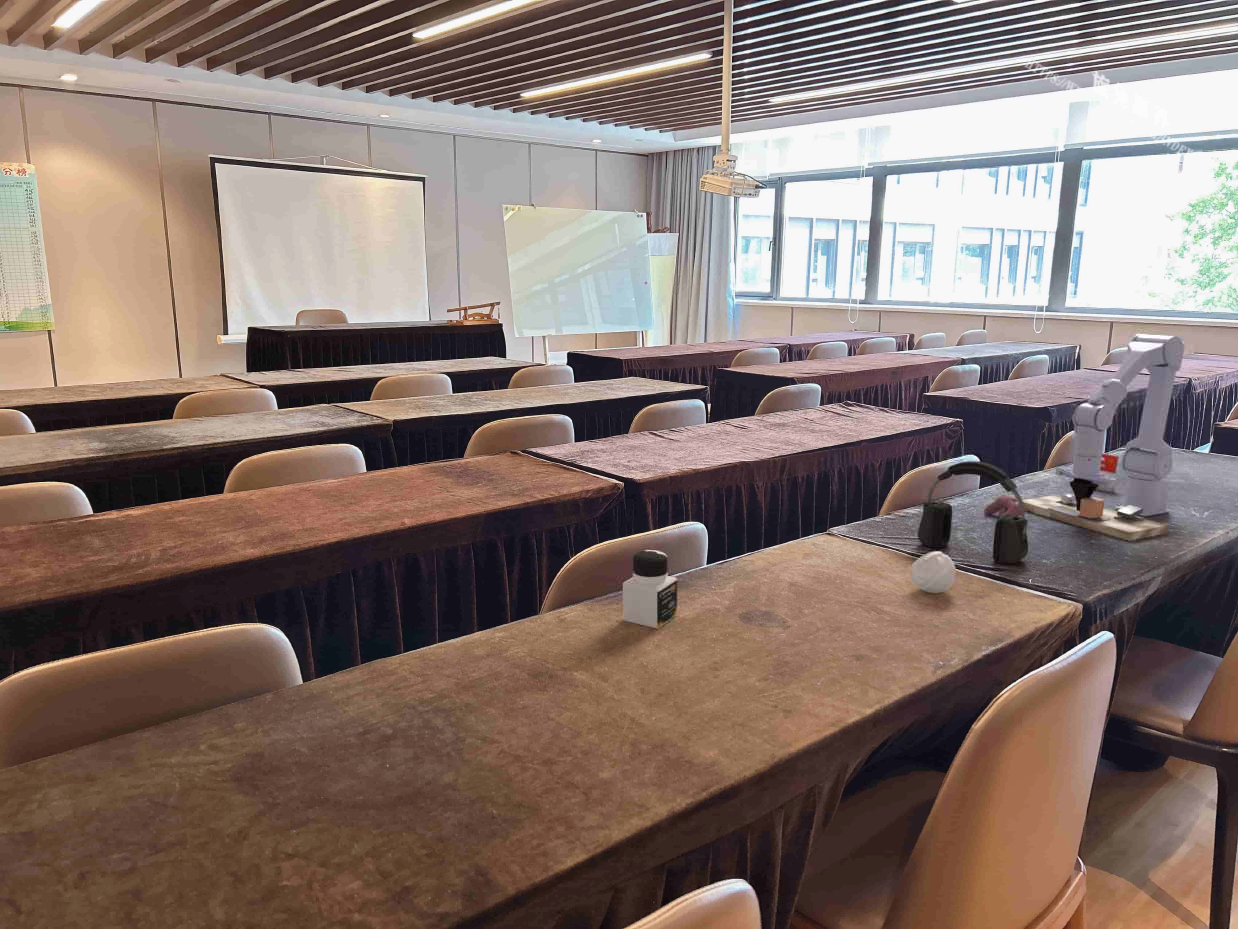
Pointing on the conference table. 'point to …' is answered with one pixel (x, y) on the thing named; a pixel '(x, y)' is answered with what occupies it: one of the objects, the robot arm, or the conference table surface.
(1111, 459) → the ink cartridge box
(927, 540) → the headphones
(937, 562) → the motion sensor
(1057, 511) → the control panel
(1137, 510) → the rocker switch
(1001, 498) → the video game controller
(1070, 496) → the push button
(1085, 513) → the slide paddle
